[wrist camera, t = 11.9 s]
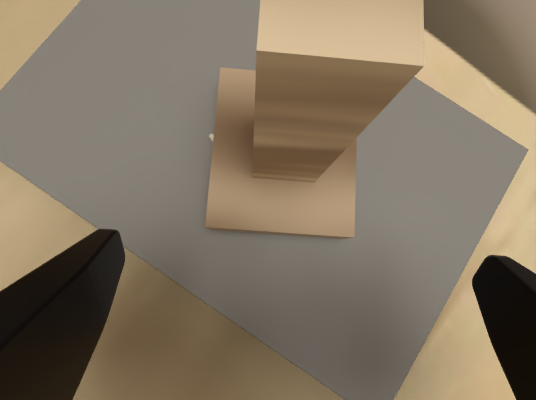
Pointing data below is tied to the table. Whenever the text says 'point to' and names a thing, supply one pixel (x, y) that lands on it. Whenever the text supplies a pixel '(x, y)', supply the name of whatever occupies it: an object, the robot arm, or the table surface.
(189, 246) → the board
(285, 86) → the wooden block tower
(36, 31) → the table surface
